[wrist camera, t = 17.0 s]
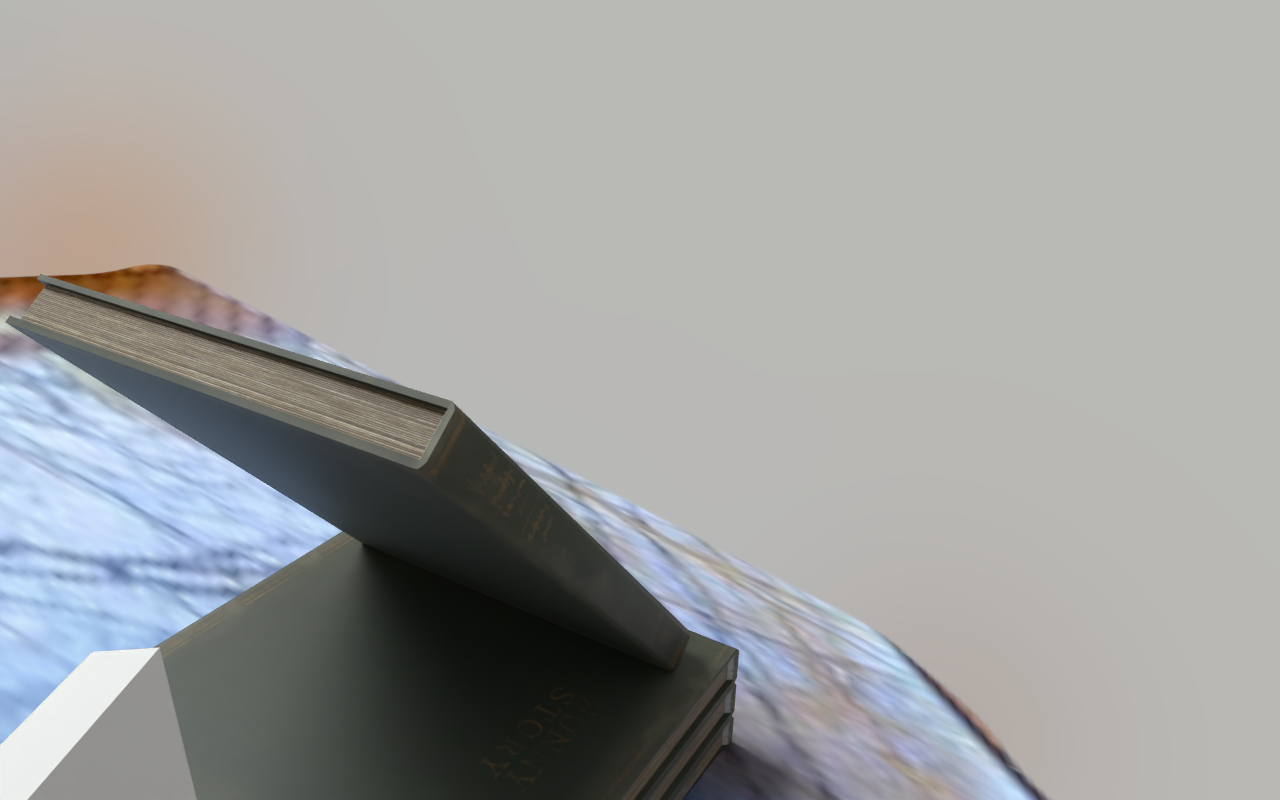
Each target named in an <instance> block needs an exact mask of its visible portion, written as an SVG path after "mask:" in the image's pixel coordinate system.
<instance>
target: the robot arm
mask: <svg viewBox="0 0 1280 800" xmlns="http://www.w3.org/2000/svg"><path fill="white" fill-rule="evenodd" d="M0 800H197V799H196V795H195V791H194V787H193V782H192V778H191V774H190V770H189V766H188V762H187V758H186V754H185V750H184V745H183V741H182V737H181V733H180V729H179V725H178V721H177V717H176V712H175V708H174V704H173V700H172V696H171V692H170V688H169V684H168V679H167V675H166V671H165V667H164V663H163V659H162V655H161V651H160V647H159V648H145V649H130V650H115V651H101V652H92V653H91V654H90V655H89V656H88V657H87V658H86V659H85V660H84V661H83V662H82V663H81V664H80V665H79V666H78V667H77V668H76V669H75V670H74V671H73V672H72V673H71V674H70V675H69V676H68V677H67V678H66V679H65V680H64V681H63V682H62V683H61V684H60V685H59V686H58V687H57V688H56V689H55V690H54V691H53V692H52V693H51V694H50V695H49V696H48V697H47V698H46V699H45V700H44V701H43V702H42V703H41V704H40V705H39V706H38V707H37V708H36V709H35V710H34V711H33V713H32V714H31V715H30V716H29V717H28V718H27V719H26V720H25V721H24V722H23V723H22V724H21V725H20V726H19V727H18V728H17V729H16V730H15V731H14V732H13V733H12V734H11V735H10V736H9V737H8V738H7V739H6V740H5V741H4V742H3V743H2V744H1V745H0Z"/></svg>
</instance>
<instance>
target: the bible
mask: <svg viewBox="0 0 1280 800" xmlns="http://www.w3.org/2000/svg"><path fill="white" fill-rule="evenodd" d="M37 280H39V281H40V282H42V283H43V284H45V285H46V286H45V287H44V289H43V290H42V291H41V293H40V294H39V296H38V297H37V298H36V300H35V301H34V302H33V304H32V305H31V306H30V308H29V309H28V310H27V312H26V313H25V315H24V316H23V317H22V319H21V320H20V319H18V318H15V317H12V316H9V318H8V319H7V320H6V323H7V324H9V325H11V326H12V327H14V328H15V329H17V330H19V331H20V332H22V333H23V334H25V335H27V336H28V337H30V338H32V339H33V340H35V341H36V342H38V343H40V344H41V345H43V346H44V347H46V348H48V349H49V350H51V351H53V352H54V353H56V354H57V355H59V356H61V357H62V358H64V359H65V360H67V361H69V362H70V363H72V364H74V365H75V366H77V367H78V368H80V369H82V370H83V371H85V372H86V373H88V374H90V375H91V376H93V377H95V378H96V379H98V380H99V381H101V382H103V383H104V384H106V385H107V386H109V387H111V388H112V389H114V390H116V391H117V392H119V393H120V394H122V395H124V396H125V397H127V398H128V399H130V400H132V401H133V402H135V403H137V404H138V405H140V406H141V407H143V408H145V409H146V410H148V411H149V412H151V413H153V414H154V415H156V416H158V417H159V418H161V419H162V420H164V421H166V422H167V423H169V424H170V425H172V426H174V427H175V428H177V429H179V430H180V431H182V432H183V433H185V434H187V435H188V436H190V437H191V438H193V439H195V440H196V441H198V442H200V443H201V444H203V445H204V446H206V447H208V448H209V449H211V450H212V451H214V452H216V453H217V454H219V455H221V456H222V457H224V458H225V459H227V460H229V461H230V462H232V463H233V464H235V465H237V466H238V467H240V468H242V469H243V470H245V471H246V472H248V473H250V474H251V475H253V476H254V477H256V478H258V479H259V480H261V481H263V482H264V483H266V484H267V485H269V486H271V487H272V488H274V489H275V490H277V491H279V492H280V493H282V494H284V495H285V496H287V497H288V498H290V499H292V500H293V501H295V502H296V503H298V504H300V505H301V506H303V507H305V508H306V509H308V510H309V511H311V512H313V513H314V514H316V515H317V516H319V517H321V518H322V519H324V520H326V521H327V522H329V523H330V524H332V525H334V526H335V527H337V528H338V529H340V530H342V532H341V533H339V534H338V535H336V536H334V537H333V538H331V539H329V540H328V541H326V542H325V543H323V544H321V545H320V546H318V547H316V548H315V549H313V550H312V551H310V552H308V553H307V554H305V555H303V556H302V557H300V558H299V559H297V560H295V561H294V562H292V563H290V564H289V565H287V566H285V567H284V568H282V569H281V570H279V571H277V572H276V573H274V574H272V575H271V576H269V577H268V578H266V579H264V580H263V581H261V582H259V583H258V584H256V585H255V586H253V587H251V588H250V589H248V590H246V591H245V592H243V593H241V594H240V595H238V596H237V597H235V598H233V599H232V600H230V601H228V602H227V603H225V604H224V605H222V606H220V607H219V608H217V609H215V610H214V611H212V612H211V613H209V614H207V615H206V616H204V617H202V618H201V619H199V620H198V621H196V622H194V623H193V624H191V625H189V626H188V627H186V628H184V629H183V630H181V631H180V632H178V633H176V634H175V635H173V636H171V637H170V638H168V639H167V640H165V641H163V642H162V643H160V644H158V645H157V646H155V647H154V648H159V647H160V651H161V655H162V659H163V663H164V667H165V671H166V675H167V679H168V684H169V688H170V692H171V696H172V700H173V704H174V708H175V712H176V717H177V721H178V725H179V729H180V733H181V737H182V741H183V745H184V750H185V754H186V758H187V762H188V766H189V770H190V774H191V778H192V782H193V787H194V791H195V795H196V799H197V800H684V798H685V797H686V796H687V794H688V793H689V792H690V790H691V789H692V788H693V786H694V785H695V784H696V783H697V781H698V780H699V779H700V777H701V776H702V775H703V773H704V772H705V771H706V770H707V768H708V767H709V766H710V764H711V763H712V762H713V760H714V759H715V758H716V756H717V755H718V754H719V753H720V751H721V750H722V749H723V747H724V746H725V745H729V744H730V743H731V742H732V732H733V719H734V718H733V717H732V714H733V712H734V706H735V694H736V684H735V683H734V682H735V680H736V678H737V669H738V656H739V650H738V649H735V648H733V647H730V646H728V645H725V644H723V643H720V642H717V641H715V640H712V639H710V638H707V637H705V636H702V635H700V634H697V633H695V632H692V631H689V630H688V629H687V628H685V627H684V626H683V625H682V624H681V623H680V622H679V621H678V620H677V619H676V618H675V617H674V616H673V615H672V614H671V613H670V612H669V611H668V610H667V609H666V608H665V607H664V606H663V605H662V604H661V603H660V602H659V601H658V600H657V599H656V598H655V597H653V596H652V595H651V594H650V593H649V592H648V591H647V590H646V589H645V588H644V587H643V586H642V585H641V584H640V583H639V582H638V581H637V580H636V579H635V578H634V577H633V576H632V575H631V574H630V573H629V572H628V571H627V570H626V569H625V568H624V567H623V566H621V565H620V564H619V563H618V562H617V561H616V560H615V559H614V558H613V557H612V556H611V555H610V554H609V553H608V552H607V551H606V550H605V549H604V548H603V547H602V546H601V545H600V544H599V543H598V542H597V541H596V540H595V539H594V538H593V537H592V536H590V535H589V534H588V533H587V532H586V531H585V530H584V529H583V528H582V527H581V526H580V525H579V524H578V523H577V522H576V521H575V520H574V519H573V518H572V517H571V516H570V515H569V514H568V513H567V512H566V511H565V510H564V509H563V508H562V507H561V506H560V505H558V504H557V503H556V502H555V501H554V500H553V499H552V498H551V497H550V496H549V495H548V494H547V493H546V492H545V491H544V490H543V489H542V488H541V487H540V486H539V485H538V484H537V483H536V482H535V481H534V480H533V479H532V478H531V477H530V476H529V475H527V474H526V473H525V472H524V471H523V470H522V469H521V468H520V467H519V466H518V465H517V464H516V463H515V462H514V461H513V460H512V459H511V458H510V457H509V456H508V455H507V454H506V453H505V452H504V451H503V450H502V449H501V448H500V447H499V446H498V445H497V444H495V443H494V442H493V441H492V440H491V439H490V438H489V437H488V436H487V435H486V434H485V433H484V432H483V431H482V430H481V429H480V428H479V427H478V426H477V425H476V424H475V423H474V422H473V421H472V420H471V419H470V418H469V417H468V416H467V415H466V414H464V413H463V412H462V411H461V410H460V409H459V408H458V407H457V406H456V405H455V404H454V403H453V402H452V401H449V400H446V399H443V398H440V397H436V396H433V395H430V394H427V393H423V392H420V391H417V390H414V389H410V388H407V387H404V386H401V385H397V384H394V383H391V382H388V381H384V380H381V379H378V378H375V377H372V376H368V375H365V374H362V373H359V372H355V371H352V370H349V369H346V368H342V367H339V366H336V365H333V364H329V363H326V362H323V361H320V360H317V359H313V358H310V357H307V356H304V355H300V354H297V353H294V352H291V351H287V350H284V349H281V348H278V347H274V346H271V345H268V344H265V343H261V342H258V341H255V340H252V339H249V338H245V337H242V336H239V335H236V334H232V333H229V332H226V331H223V330H219V329H216V328H213V327H210V326H206V325H203V324H200V323H197V322H194V321H190V320H187V319H184V318H181V317H177V316H174V315H171V314H168V313H164V312H161V311H158V310H155V309H151V308H148V307H145V306H142V305H138V304H135V303H132V302H129V301H126V300H122V299H119V298H116V297H113V296H109V295H106V294H103V293H100V292H96V291H93V290H90V289H87V288H83V287H80V286H77V285H74V284H71V283H67V282H64V281H61V280H58V279H54V278H51V277H48V276H45V275H41V274H40V276H39V277H38V278H37Z"/></svg>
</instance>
